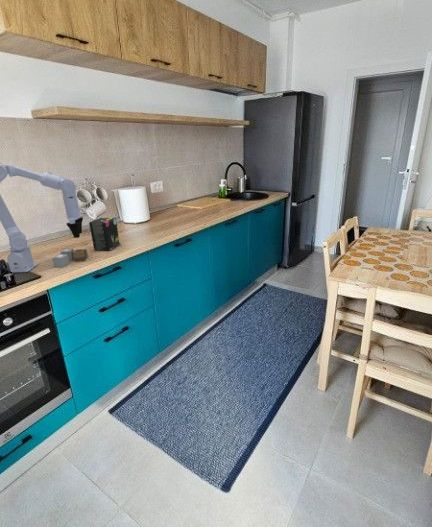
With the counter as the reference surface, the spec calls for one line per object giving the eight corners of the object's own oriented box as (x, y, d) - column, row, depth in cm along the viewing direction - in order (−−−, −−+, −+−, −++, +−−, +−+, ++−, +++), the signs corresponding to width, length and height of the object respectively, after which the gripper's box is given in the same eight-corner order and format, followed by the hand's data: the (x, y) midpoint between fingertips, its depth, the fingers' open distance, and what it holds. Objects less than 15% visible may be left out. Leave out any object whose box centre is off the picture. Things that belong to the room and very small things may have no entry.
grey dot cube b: (63, 267, 135) (60, 257, 134) (54, 267, 136) (52, 257, 135) (69, 264, 139) (67, 254, 138) (61, 263, 141) (59, 253, 139)
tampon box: (110, 251, 155) (105, 222, 150) (93, 250, 157) (88, 222, 152) (120, 244, 165) (116, 217, 160) (104, 244, 167) (100, 217, 162)
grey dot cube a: (72, 260, 144) (70, 251, 142) (62, 261, 143) (60, 252, 141) (74, 257, 148) (73, 248, 146) (64, 258, 147) (62, 249, 145)
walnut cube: (84, 261, 142) (82, 252, 140) (74, 261, 142) (72, 252, 140) (88, 258, 146) (86, 249, 145) (78, 258, 146) (76, 249, 145)
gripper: (79, 208, 134) (85, 238, 139) (83, 202, 147) (89, 230, 152) (61, 210, 133) (68, 240, 138) (67, 204, 146) (73, 232, 151)
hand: (78, 235), depth 145 cm, fingers open, 7 cm apart
